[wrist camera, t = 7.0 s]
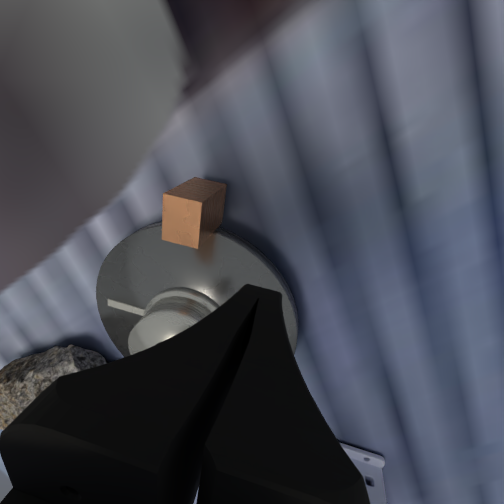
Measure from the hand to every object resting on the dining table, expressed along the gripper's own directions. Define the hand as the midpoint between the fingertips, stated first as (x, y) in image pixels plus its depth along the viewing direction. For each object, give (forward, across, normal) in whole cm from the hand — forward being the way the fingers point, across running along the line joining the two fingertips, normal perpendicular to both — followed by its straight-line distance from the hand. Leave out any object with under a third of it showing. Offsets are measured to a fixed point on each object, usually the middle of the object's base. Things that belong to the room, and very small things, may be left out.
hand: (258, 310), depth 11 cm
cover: (+7, +5, +8) cm, 12 cm away
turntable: (+8, +5, +7) cm, 12 cm away
